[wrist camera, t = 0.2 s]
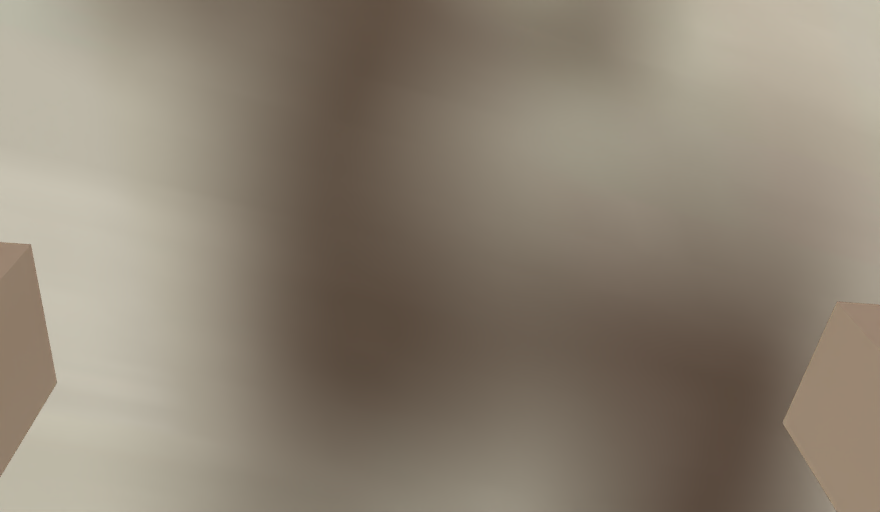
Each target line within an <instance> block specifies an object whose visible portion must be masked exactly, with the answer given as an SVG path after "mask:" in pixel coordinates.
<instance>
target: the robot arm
mask: <svg viewBox="0 0 880 512" xmlns="http://www.w3.org/2000/svg"><path fill="white" fill-rule="evenodd" d="M56 384H57V380H56V374H55V369H54V364H53V359H52V353H51V348H50V343H49V337H48V332H47V327H46V322H45V316H44V311H43V306H42V300H41V295H40V290H39V285H38V279H37V274H36V269H35V263H34V258H33V253H32V247H31V244H18V243H3V242H0V477H1V475H2V473H3V472H4V470H5V468H6V467H7V465H8V463H9V462H10V460H11V458H12V457H13V455H14V454H15V452H16V450H17V449H18V447H19V445H20V444H21V442H22V440H23V439H24V437H25V435H26V434H27V432H28V430H29V429H30V427H31V425H32V424H33V422H34V420H35V419H36V417H37V415H38V414H39V412H40V410H41V409H42V407H43V405H44V404H45V402H46V400H47V399H48V397H49V395H50V394H51V392H52V390H53V389H54V387H55V385H56ZM783 425H784V427H785V428H786V430H787V431H788V433H789V435H790V436H791V438H792V440H793V441H794V443H795V444H796V446H797V448H798V449H799V451H800V453H801V454H802V456H803V457H804V459H805V461H806V462H807V464H808V466H809V467H810V469H811V470H812V472H813V474H814V475H815V477H816V479H817V480H818V482H819V483H820V485H821V487H822V488H823V490H824V492H825V493H826V495H827V496H828V498H829V500H830V501H831V503H832V505H833V506H834V508H835V509H836V511H837V512H880V305H876V304H862V303H848V302H837V303H836V305H835V307H834V309H833V312H832V314H831V316H830V318H829V321H828V323H827V325H826V327H825V329H824V332H823V334H822V336H821V338H820V340H819V343H818V345H817V347H816V349H815V352H814V354H813V356H812V358H811V360H810V363H809V365H808V367H807V369H806V372H805V374H804V376H803V378H802V380H801V383H800V385H799V387H798V389H797V392H796V394H795V396H794V398H793V400H792V403H791V405H790V407H789V409H788V412H787V414H786V416H785V418H784V420H783Z"/></svg>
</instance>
